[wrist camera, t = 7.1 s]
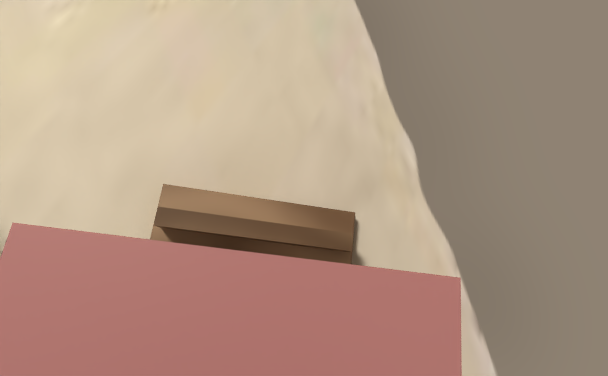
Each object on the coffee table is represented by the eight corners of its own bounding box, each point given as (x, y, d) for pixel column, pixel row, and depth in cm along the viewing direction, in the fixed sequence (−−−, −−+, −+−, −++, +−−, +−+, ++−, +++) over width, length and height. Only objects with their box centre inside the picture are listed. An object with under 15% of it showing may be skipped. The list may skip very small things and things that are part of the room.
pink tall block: (302, 338, 15) (464, 580, 4) (177, 327, 14) (-118, 591, 3) (310, 266, 16) (460, 277, 5) (192, 251, 15) (12, 222, 4)
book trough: (337, 385, 21) (348, 401, 19) (123, 370, 19) (105, 385, 17) (351, 214, 24) (362, 209, 22) (166, 186, 22) (156, 178, 20)
